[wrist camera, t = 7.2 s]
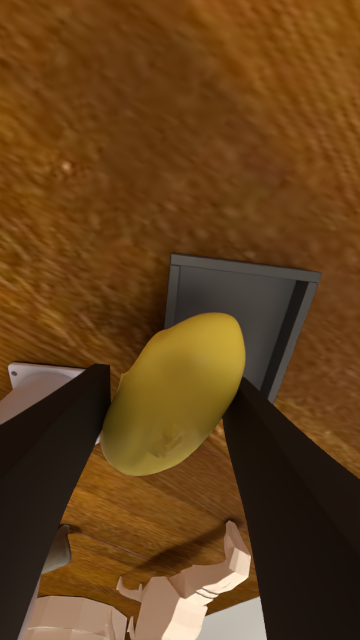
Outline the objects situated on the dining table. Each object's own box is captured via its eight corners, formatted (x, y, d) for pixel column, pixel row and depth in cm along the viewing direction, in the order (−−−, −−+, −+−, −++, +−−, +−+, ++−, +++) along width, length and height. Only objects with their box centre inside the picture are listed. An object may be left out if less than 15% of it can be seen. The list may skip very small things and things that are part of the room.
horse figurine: (159, 513, 42) (258, 530, 27) (123, 659, 30) (269, 844, 14) (140, 504, 41) (233, 516, 26) (95, 653, 29) (222, 845, 13)
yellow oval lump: (94, 400, 10) (46, 488, 7) (189, 276, 8) (196, 304, 4) (160, 435, 11) (151, 529, 7) (263, 333, 9) (321, 396, 5)
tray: (262, 395, 20) (270, 411, 18) (158, 385, 19) (156, 400, 17) (305, 269, 15) (322, 272, 13) (172, 252, 15) (171, 253, 13)
